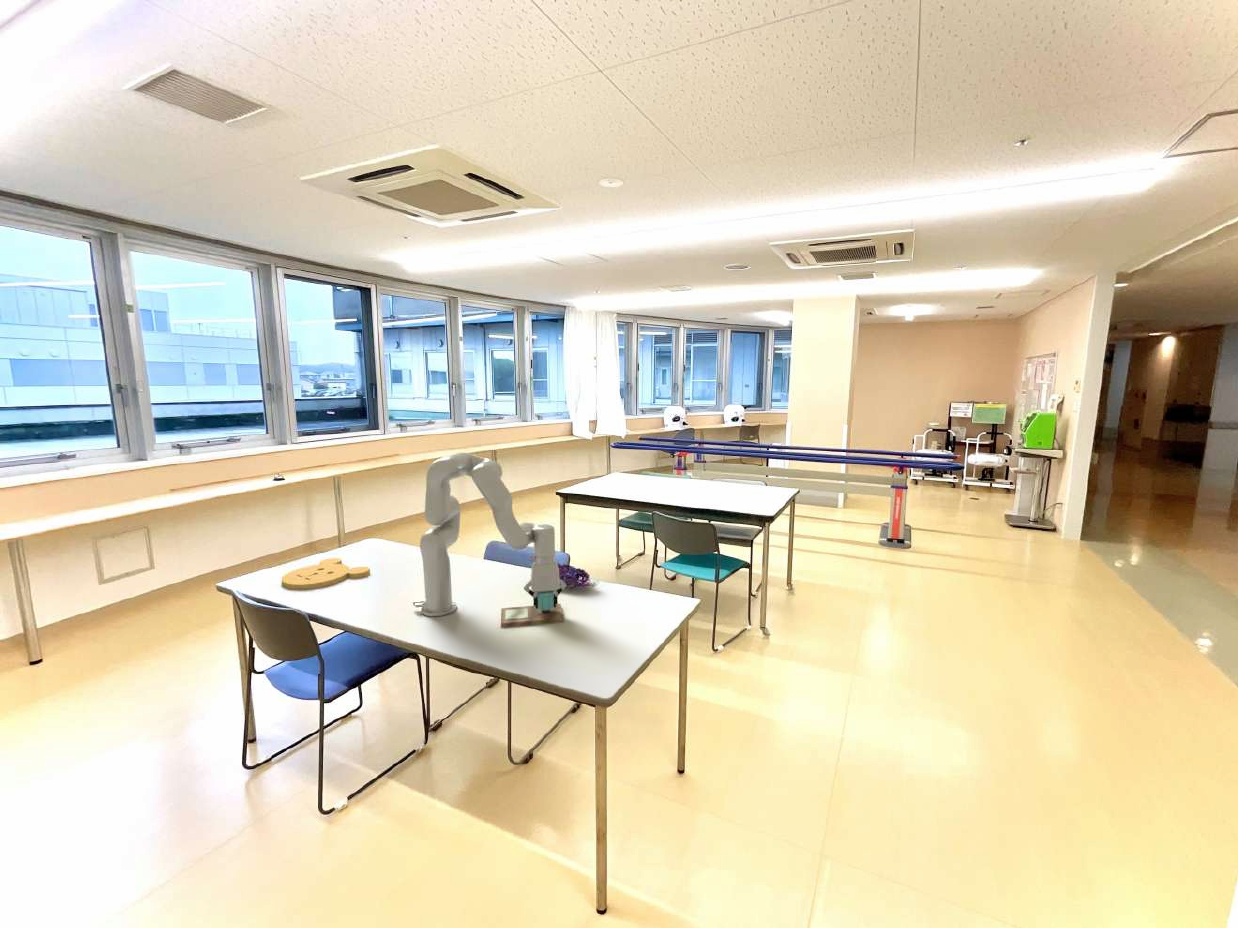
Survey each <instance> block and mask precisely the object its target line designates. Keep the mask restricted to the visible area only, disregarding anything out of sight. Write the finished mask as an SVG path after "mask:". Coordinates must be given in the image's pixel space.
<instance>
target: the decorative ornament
mask: <svg viewBox="0 0 1238 928" xmlns="http://www.w3.org/2000/svg"><path fill="white" fill-rule="evenodd" d="M557 564H558V569H559V578H560V579H561V580H562V581H563V582H564V583H565V584H566V587H569V586H570V588H569V591H571V590H572V589H574V588H577V587H583V588H585V587H586V589H591V588H596V586H597V585H598V584H600V583H599V582H600V581H599V580H597V581H596V580H592V581H591V579H590V574H589V572H588V571H586V569H581V567H580V568H577V567H574V566H573V565H570V564H565V563H564V564H561V563H559V562H557ZM559 587H561V584H560V586H559Z"/></svg>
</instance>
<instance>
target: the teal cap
mask: <svg viewBox="0 0 1238 928" xmlns="http://www.w3.org/2000/svg"><path fill="white" fill-rule="evenodd" d="M537 598H538V608H537V609H540V610H550V609H552V608H554V592H553V591H542V592H538V593H537Z"/></svg>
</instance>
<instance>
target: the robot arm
mask: <svg viewBox="0 0 1238 928" xmlns="http://www.w3.org/2000/svg"><path fill="white" fill-rule="evenodd" d="M463 476H468V477H471V479H472V481H473V483H474V485H475V486H476V488H477V489H478V490H479V492H480V493H481V495H482V496H483V498H484V500H486V502H487V504H488V505H489V507H490V508H491V511H492V516H493V519H494V522H495V525H496V527H497V530H498V532H499V534H501V536H502V538H503V539H504V541H505V542H506V543H507V544H508V546H510V548H512V549H513V550H516V551H520V550H521V551H522V550H524V549H526V548H527V547H528V546H529V545H531V544H532V543H533V555H532V556H530V557H529V559H530V560H529V561H532V564H531V572H530V580H529V581H528V582H527V583H526V584H525V585H524V586H523V590H524V591H525V592H526V593H528V595H530V596H531V597H532V598H533V606H536V609H537V608H538V598H537V593H538V592H542V591H553V592H554V607H556V604H559V603H558V597H559V595H560V594H561V593H562V592H563V590H564V589H565V588H566V587H567V586H566V584H565V583H564V581H562V580H561V579H560V578H559V569H558V564H557V563H558V562H557V560H556V537H555V536H556V535H555V534H556V533H555V532H556V531H555V527H554V526H553V525H551V524H537V523H532V522H522V523H520V524H519V523H518V521H517V519H516V517H515V514H514V512H513V495H512V493H511V492H510V490H509V489H508V488H507V486H506V484H505V483H504V482H503V480H502V479H501V478H502V476H503V468H502V466H501V465H500V463H498V462H497V461H496V460H493V459H490V458H487V457H482V456H479V455H476V454H473V453H470V452H469V453H468V452H457V453H454V454H450V455H447V456H443V457H441V458H439V459H437V460H435V461H433V462H432V463H431V464H430V465H429V467H428V469H427V471H426V476H425V480H426V482H425V500H424V503H425V505H424V518H425V521H426V522H427V524H428V525H431V526H433V527H431V528H430V529H427V530H426V531H425V532H424V533H423V534H422V535H421V537H420V540H419V549H420V553H421V558H422V567H423V582H424V585H423V586H424V598H422V599H420V600H419V599H415V600H413V601H412V605H413V607H415V608H421V614H422V615H423V616H427V617H442V616H446V615H448V614H449V615H450V614H452V613H453V612H454V611H456V609H457V603H456V602H455V601H453V595H452V594H453V592H452V591H453V590H452V574H451V573H452V571H451V570H452V569H451V568H452V567H451V561H450V556H449V553H448V549H449V548H450V547H451V546H453V545H454V544H456V543H457V541H458V538H459V537H460V536H459V535H460V527H461V526H460V523H461V521H460V520H461V505H460V502H459V500H458V499H457V498H456V497H455V496H453V495H451V489H452V488H451V483H450V481H451V480H454V479H458V478H460V477H463ZM560 584H561V586H560ZM530 588H531V589H530Z"/></svg>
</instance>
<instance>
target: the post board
mask: <svg viewBox="0 0 1238 928" xmlns="http://www.w3.org/2000/svg"><path fill="white" fill-rule="evenodd" d="M556 623H557V624H558V623H565V616H564V614H563V608H562V604H561V603H558V604H556V607H554V608H552V609H550V610H540V609H536V606H534V605H526V606H514V607H511V606H510V607H501V609H500V628H509V627H510V628H511V627H512V628H513V627H521V626H534V625H544V624H545V625H547V624H556Z"/></svg>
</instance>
